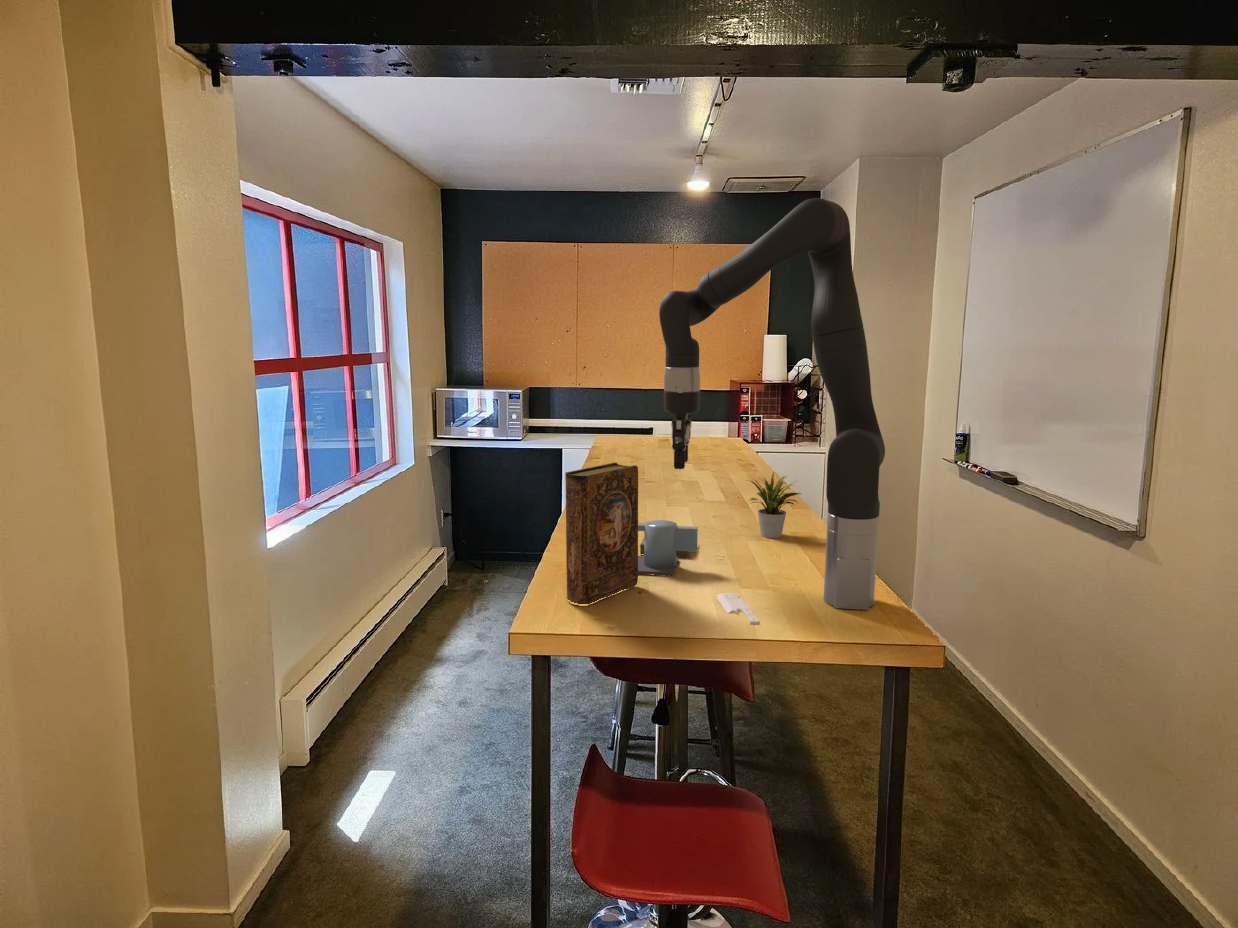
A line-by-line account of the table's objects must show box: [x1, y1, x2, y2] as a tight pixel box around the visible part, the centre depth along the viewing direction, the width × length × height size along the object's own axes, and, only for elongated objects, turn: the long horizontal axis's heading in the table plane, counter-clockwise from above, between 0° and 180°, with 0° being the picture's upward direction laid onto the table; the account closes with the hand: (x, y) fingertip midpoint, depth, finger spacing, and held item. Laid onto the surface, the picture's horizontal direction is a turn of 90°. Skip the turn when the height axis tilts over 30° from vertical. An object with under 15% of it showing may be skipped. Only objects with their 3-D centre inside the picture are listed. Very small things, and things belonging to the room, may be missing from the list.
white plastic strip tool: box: [715, 592, 760, 625], centre depth 141 cm, size 5×15×1 cm, turn 5°
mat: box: [638, 555, 679, 577], centre depth 165 cm, size 11×11×1 cm
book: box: [564, 462, 639, 604], centre depth 147 cm, size 16×6×25 cm, turn 141°
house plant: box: [746, 472, 802, 539], centre depth 189 cm, size 14×14×16 cm
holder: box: [639, 537, 690, 558], centre depth 179 cm, size 11×11×2 cm
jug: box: [638, 519, 699, 569], centre depth 164 cm, size 13×7×9 cm, turn 81°
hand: (681, 465), depth 161 cm, fingers open, 8 cm apart
